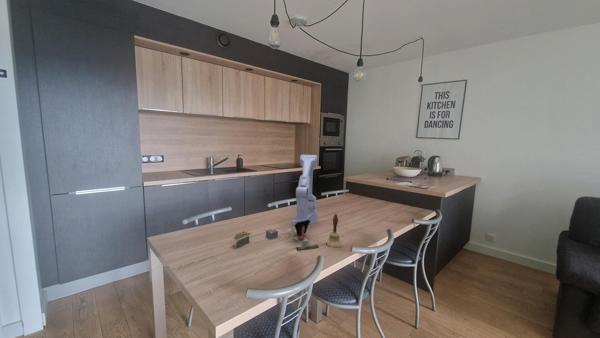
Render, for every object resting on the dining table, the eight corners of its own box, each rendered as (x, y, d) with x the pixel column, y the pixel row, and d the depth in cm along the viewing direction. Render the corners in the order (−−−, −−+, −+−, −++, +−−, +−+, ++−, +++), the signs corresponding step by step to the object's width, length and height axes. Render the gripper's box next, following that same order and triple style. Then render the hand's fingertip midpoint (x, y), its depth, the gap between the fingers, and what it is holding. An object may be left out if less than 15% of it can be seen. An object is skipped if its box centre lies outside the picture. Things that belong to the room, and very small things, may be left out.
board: (300, 228, 145) (300, 226, 145) (318, 247, 122) (318, 245, 122) (282, 231, 141) (282, 229, 141) (297, 251, 118) (297, 248, 118)
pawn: (301, 234, 131) (301, 222, 130) (306, 237, 128) (307, 224, 127) (295, 236, 129) (296, 224, 127) (300, 239, 126) (301, 226, 125)
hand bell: (343, 241, 129) (344, 212, 127) (340, 248, 122) (342, 217, 119) (327, 239, 132) (329, 210, 130) (324, 245, 124) (325, 215, 122)
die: (272, 236, 133) (272, 228, 132) (277, 239, 130) (277, 231, 129) (265, 238, 130) (265, 230, 130) (270, 241, 127) (270, 233, 126)
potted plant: (219, 248, 120) (219, 235, 119) (247, 236, 134) (247, 224, 133) (234, 255, 113) (234, 242, 112) (263, 242, 127) (263, 230, 126)
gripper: (304, 204, 134) (303, 228, 136) (286, 210, 123) (286, 236, 125) (315, 207, 130) (314, 231, 132) (297, 214, 119) (297, 240, 121)
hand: (301, 234), depth 128 cm, fingers closed on pawn, 3 cm apart
